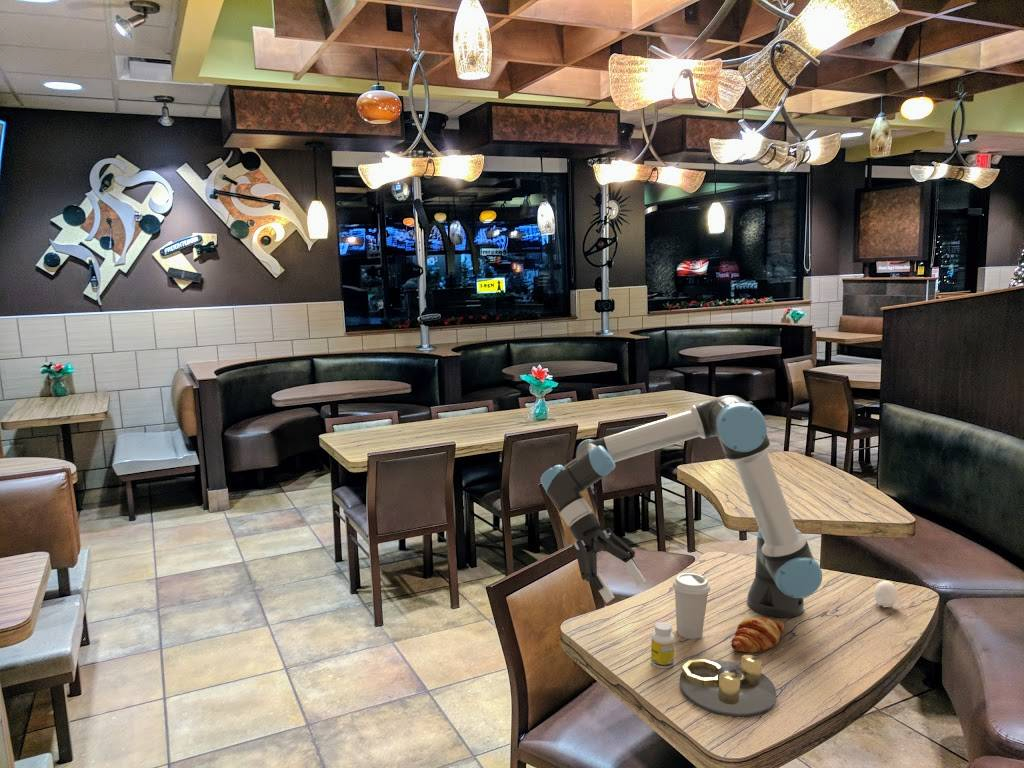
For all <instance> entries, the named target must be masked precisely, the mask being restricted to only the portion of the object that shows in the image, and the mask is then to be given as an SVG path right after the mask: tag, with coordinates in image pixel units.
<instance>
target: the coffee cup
mask: <svg viewBox="0 0 1024 768" xmlns="http://www.w3.org/2000/svg"><path fill="white" fill-rule="evenodd" d="M672 587H673V589H674V596H675V597H674V598H675V599H674V601H675V603H674V604H675V619H676V620H675V621H676V633H677V635H679V636H680V637H681V638H684V639H686V640H687V639H688V640H698V639H700V638H701V637H702V636H703V630H704V623H705V619H706V618H705V616H706V610H707V602H708V597H709V592H710V591H711V585H710V582H709V581H708V578H706V577H705V576H703V575H701V574H697V573H693V572H692V573H691V572H685V573H679V574H678V575H676V578H675V579H674V581H673V582H672Z"/></svg>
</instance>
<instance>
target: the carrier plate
mask: <svg viewBox="0 0 1024 768" xmlns="http://www.w3.org/2000/svg"><path fill="white" fill-rule="evenodd" d="M761 671H762V659H761V658H759V656H756V655H752V654H744V655H742V656H741V660H740V663H738V662H734V661H731V660H730V661H729V660H720V659H719V660H718V659H711V660H709V659H705V658H702V659H700V658H699V659H697V658H696V659H688V660H687V661H686V662H685V663H684V664H683V665H682V667H681V672H680V675H679V689H680V692H681V694H683V696H684V698H686V699H687V700H688V701H689V702H690V703H691V704H693V705H694V706H696V707H698V708H700V709H702V710H704V711H706V712H709V713H712V714H714V715H718V716H722V715H723V717H727V716H731V717H730V718H738V717H744V718H751V717H752V718H754V717H757V716H761V715H763V714H766V713H768V712H769V711H771V710H772V708H774V706H775V705H776V700H777V699H776V698H777V690H776V687H775V685H774V683H773V681H771V679H770V678H769V677H767V676H766V675H765V674H764V673H762V672H761ZM753 716H754V717H753Z"/></svg>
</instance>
